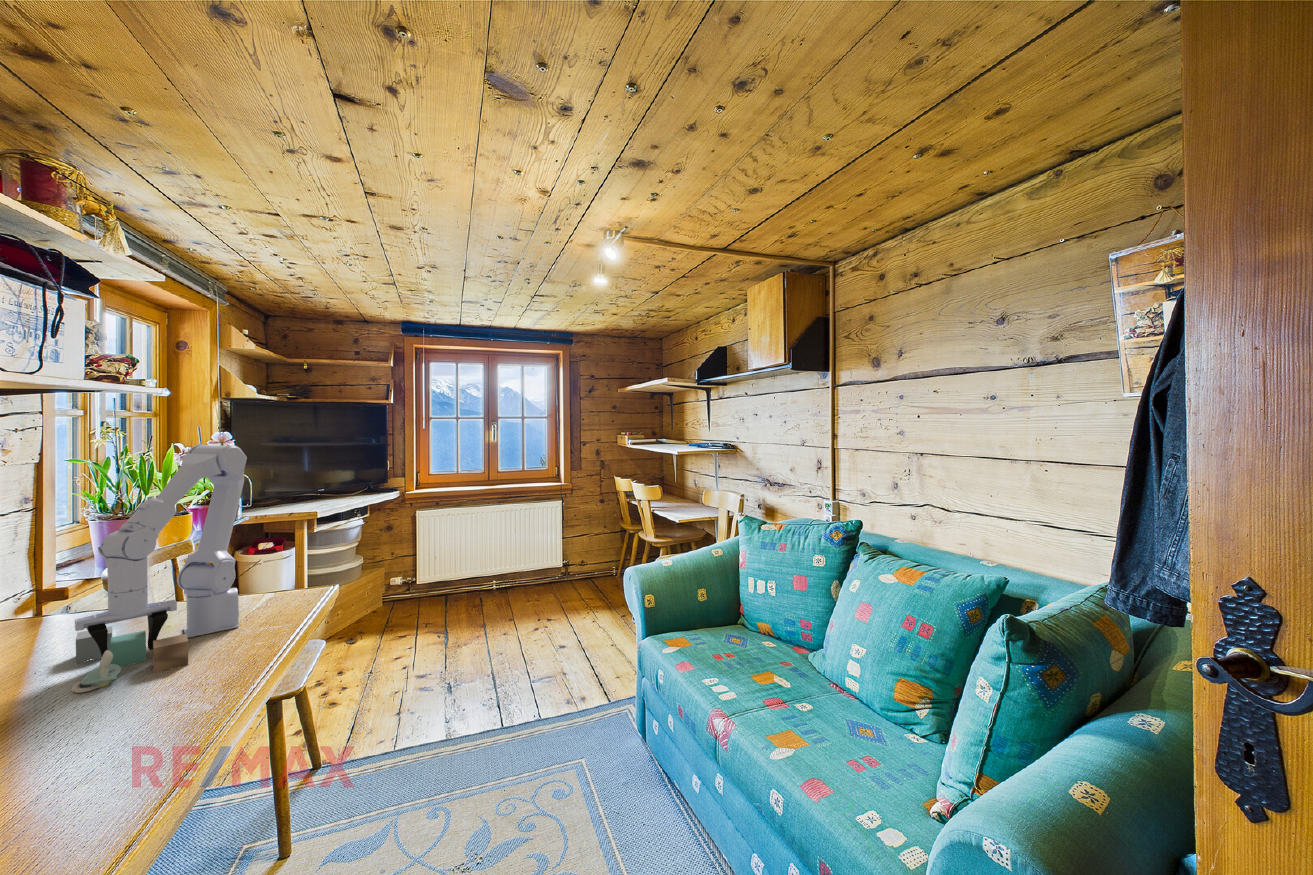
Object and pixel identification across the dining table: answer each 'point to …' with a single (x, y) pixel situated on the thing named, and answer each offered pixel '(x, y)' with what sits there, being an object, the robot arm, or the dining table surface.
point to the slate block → (89, 646)
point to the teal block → (128, 648)
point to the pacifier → (99, 674)
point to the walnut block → (170, 653)
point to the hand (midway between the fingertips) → (128, 653)
